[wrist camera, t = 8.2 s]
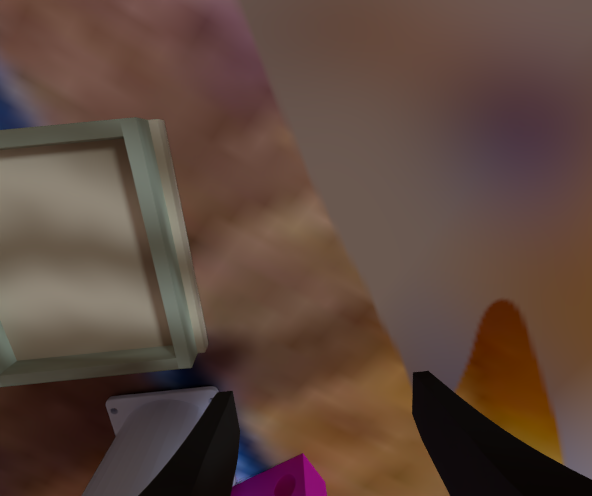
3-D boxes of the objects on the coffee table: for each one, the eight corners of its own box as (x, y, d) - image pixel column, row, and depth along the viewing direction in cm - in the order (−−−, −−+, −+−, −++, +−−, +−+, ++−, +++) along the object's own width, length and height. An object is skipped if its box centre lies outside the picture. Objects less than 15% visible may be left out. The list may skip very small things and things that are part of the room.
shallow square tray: (208, 343, 22) (199, 367, 20) (13, 363, 22) (-19, 388, 20) (164, 120, 18) (145, 116, 16) (-79, 143, 18) (-134, 142, 16)
